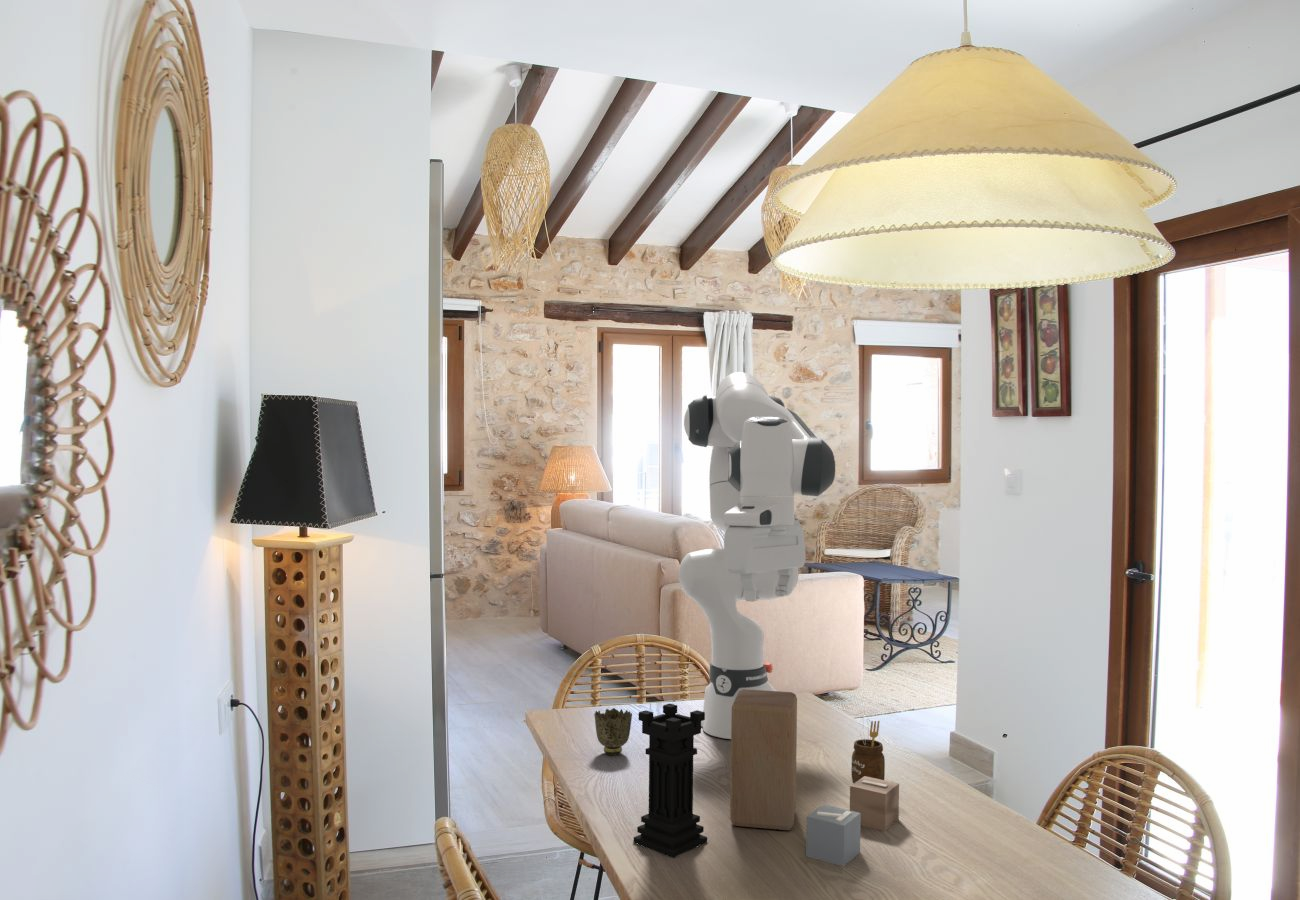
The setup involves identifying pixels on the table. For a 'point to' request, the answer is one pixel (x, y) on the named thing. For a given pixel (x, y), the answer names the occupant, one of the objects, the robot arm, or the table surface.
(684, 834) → the chess piece
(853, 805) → the walnut numbered cube
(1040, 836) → the table surface
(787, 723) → the block
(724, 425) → the robot arm
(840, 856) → the slate numbered cube
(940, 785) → the table surface
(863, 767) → the utensil holder
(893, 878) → the table surface
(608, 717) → the cup
